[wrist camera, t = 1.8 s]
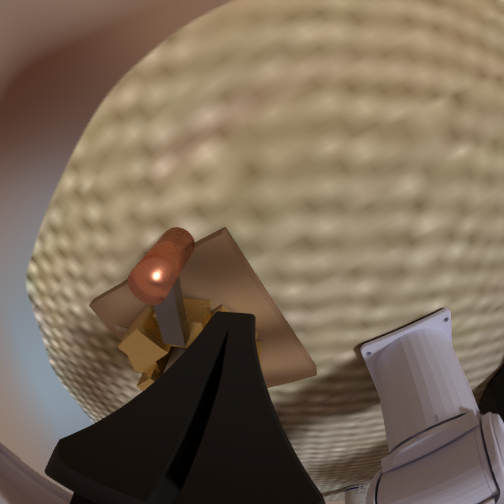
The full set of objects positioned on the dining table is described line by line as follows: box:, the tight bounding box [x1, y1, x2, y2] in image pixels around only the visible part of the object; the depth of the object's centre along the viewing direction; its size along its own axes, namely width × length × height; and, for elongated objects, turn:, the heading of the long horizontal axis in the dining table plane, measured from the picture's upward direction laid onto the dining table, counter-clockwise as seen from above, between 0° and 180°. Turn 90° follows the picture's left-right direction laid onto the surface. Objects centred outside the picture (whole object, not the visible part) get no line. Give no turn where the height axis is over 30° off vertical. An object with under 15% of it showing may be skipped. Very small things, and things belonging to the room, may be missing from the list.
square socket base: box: [89, 227, 317, 388], centre depth 19 cm, size 14×14×6 cm
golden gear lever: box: [118, 227, 262, 391], centre depth 17 cm, size 15×10×4 cm, turn 0°
